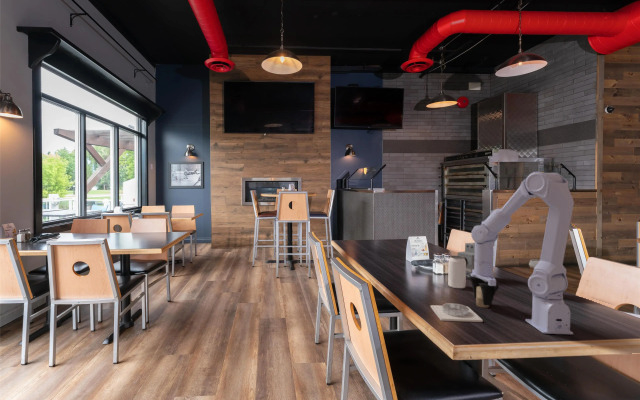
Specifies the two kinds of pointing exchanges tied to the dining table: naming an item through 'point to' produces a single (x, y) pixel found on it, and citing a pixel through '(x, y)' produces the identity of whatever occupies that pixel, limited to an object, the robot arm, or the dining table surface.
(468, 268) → the circuit breaker
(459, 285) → the can
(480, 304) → the maple peg
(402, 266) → the dining table surface
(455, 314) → the peg holder
